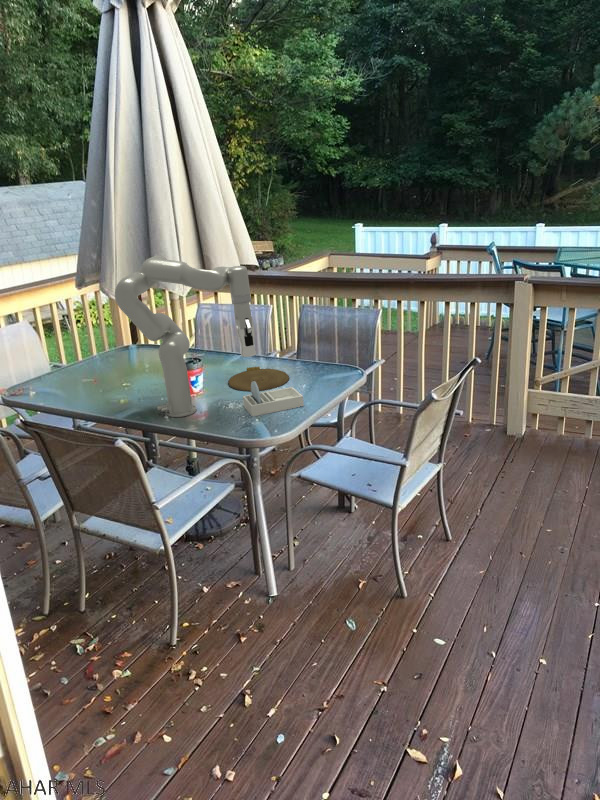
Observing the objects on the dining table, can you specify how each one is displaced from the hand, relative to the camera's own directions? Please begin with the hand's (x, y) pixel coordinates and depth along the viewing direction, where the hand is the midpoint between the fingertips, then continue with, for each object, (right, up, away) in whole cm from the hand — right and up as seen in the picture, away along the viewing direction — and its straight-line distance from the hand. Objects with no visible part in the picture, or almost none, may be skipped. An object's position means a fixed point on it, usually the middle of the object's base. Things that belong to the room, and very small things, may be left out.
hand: (247, 343), depth 246 cm
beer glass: (0, -5, +2) cm, 5 cm away
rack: (+10, -25, +12) cm, 29 cm away
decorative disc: (+1, -14, +45) cm, 47 cm away
